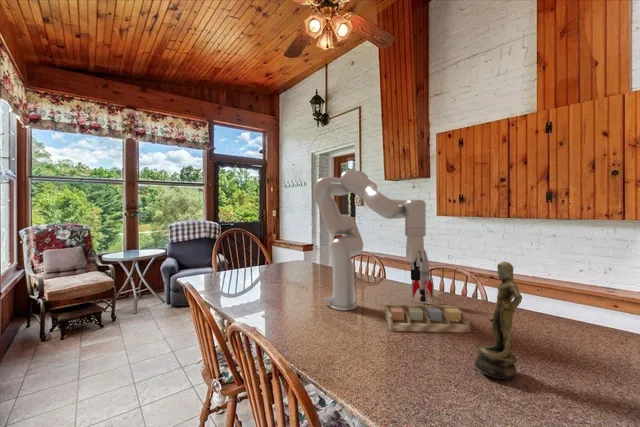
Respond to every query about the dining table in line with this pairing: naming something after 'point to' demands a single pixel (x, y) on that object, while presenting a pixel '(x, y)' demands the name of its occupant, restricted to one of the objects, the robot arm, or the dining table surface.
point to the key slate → (434, 314)
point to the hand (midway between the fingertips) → (415, 279)
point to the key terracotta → (397, 313)
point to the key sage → (415, 313)
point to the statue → (498, 356)
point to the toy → (423, 281)
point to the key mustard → (453, 314)
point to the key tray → (426, 320)
